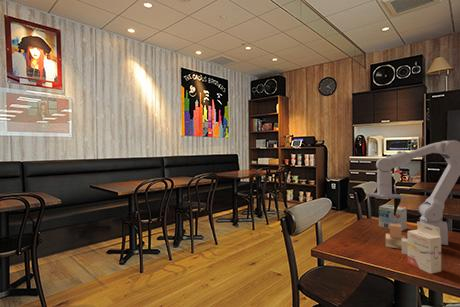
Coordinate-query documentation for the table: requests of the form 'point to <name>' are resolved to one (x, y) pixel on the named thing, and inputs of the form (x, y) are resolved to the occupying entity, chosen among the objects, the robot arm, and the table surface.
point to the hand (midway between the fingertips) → (384, 214)
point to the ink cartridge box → (425, 248)
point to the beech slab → (394, 242)
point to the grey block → (404, 246)
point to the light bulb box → (392, 216)
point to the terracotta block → (395, 231)
